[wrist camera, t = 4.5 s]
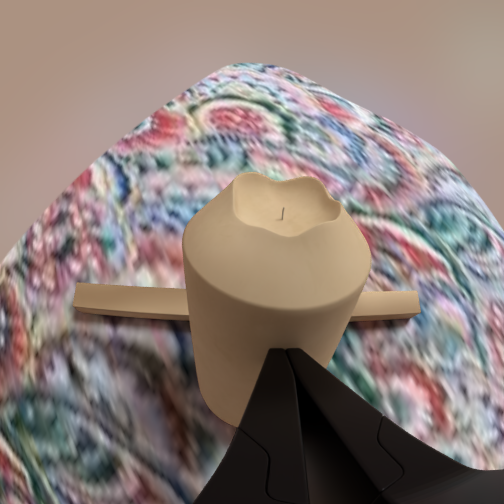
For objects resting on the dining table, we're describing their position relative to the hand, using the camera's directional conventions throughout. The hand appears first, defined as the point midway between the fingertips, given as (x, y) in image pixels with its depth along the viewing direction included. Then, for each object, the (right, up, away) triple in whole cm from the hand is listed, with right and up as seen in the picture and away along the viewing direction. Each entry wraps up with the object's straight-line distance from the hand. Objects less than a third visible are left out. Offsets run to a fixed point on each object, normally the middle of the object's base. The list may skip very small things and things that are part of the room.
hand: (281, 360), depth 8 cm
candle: (-1, -3, +6) cm, 7 cm away
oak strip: (-1, 0, +9) cm, 9 cm away
